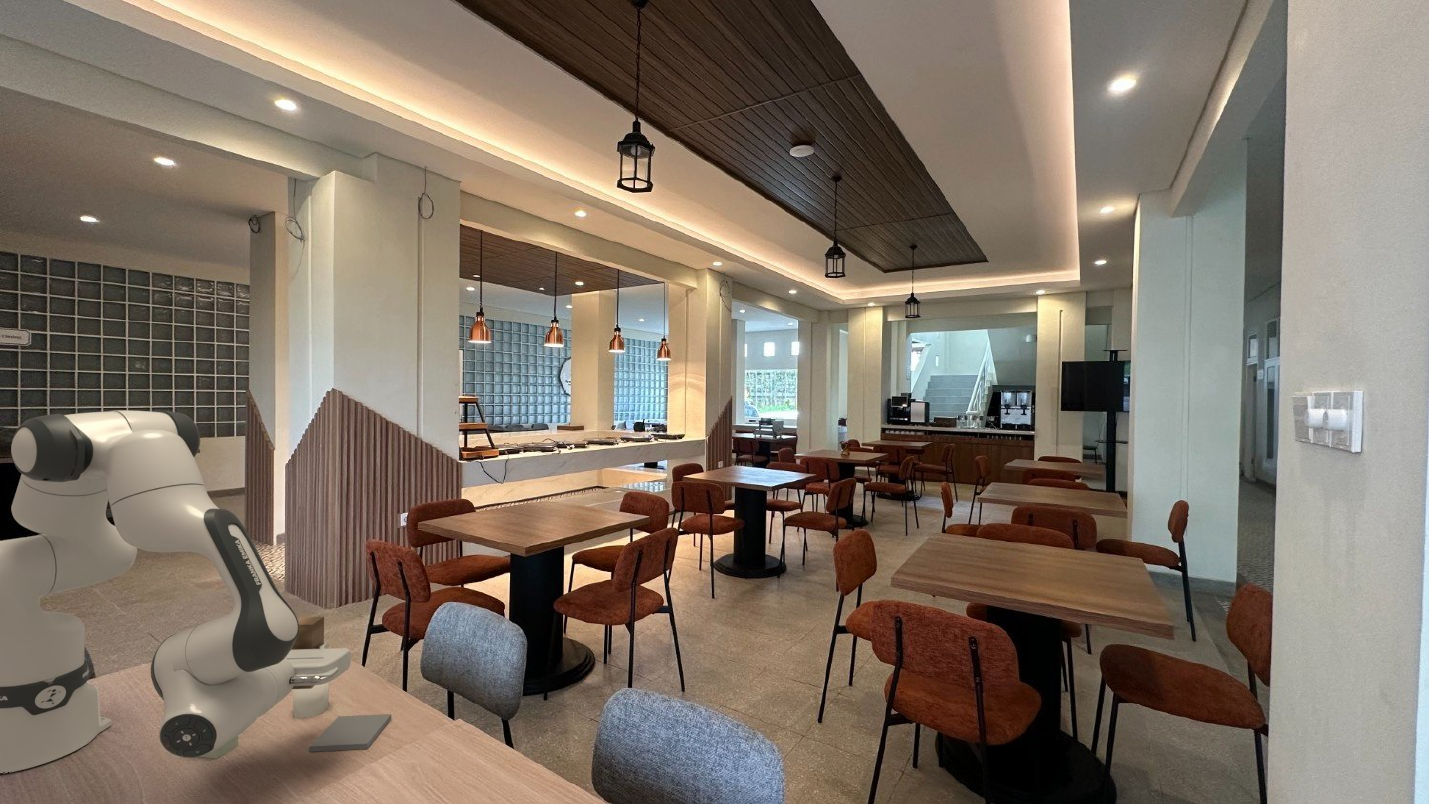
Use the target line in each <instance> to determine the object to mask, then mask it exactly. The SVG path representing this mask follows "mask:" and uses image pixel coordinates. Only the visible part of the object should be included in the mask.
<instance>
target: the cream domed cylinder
mask: <svg viewBox="0 0 1429 804" xmlns="http://www.w3.org/2000/svg"><path fill="white" fill-rule="evenodd" d="M329 685H330V682H328V683H325V684H321V685H315V686H314V687H313V688H311V689H292V691H293V692H292V693H293V694H292V716H293V718H295V719H308V718H313V717H315V716H316V717H317V716H319V715H321V714H322V713H324V712H326V710H328V709H329V697H330V696H329V691H330V689H329Z"/></svg>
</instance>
